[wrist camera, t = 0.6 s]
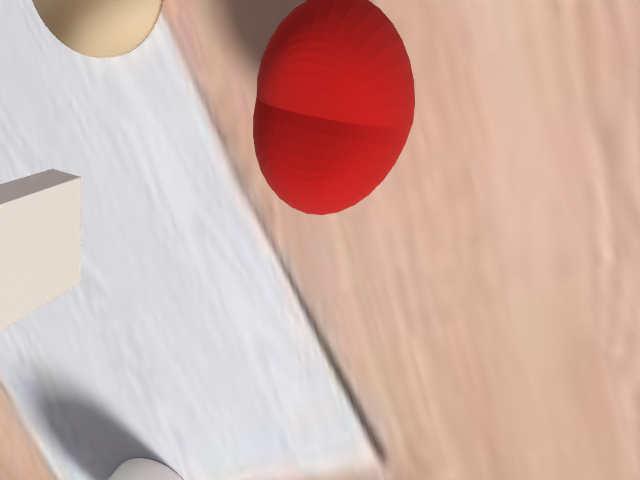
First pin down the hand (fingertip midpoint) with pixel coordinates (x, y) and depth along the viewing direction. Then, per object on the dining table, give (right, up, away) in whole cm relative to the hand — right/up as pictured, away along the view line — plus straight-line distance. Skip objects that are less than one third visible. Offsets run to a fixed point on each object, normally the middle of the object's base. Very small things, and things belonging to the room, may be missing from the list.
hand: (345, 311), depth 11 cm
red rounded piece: (+2, +9, +18) cm, 21 cm away
